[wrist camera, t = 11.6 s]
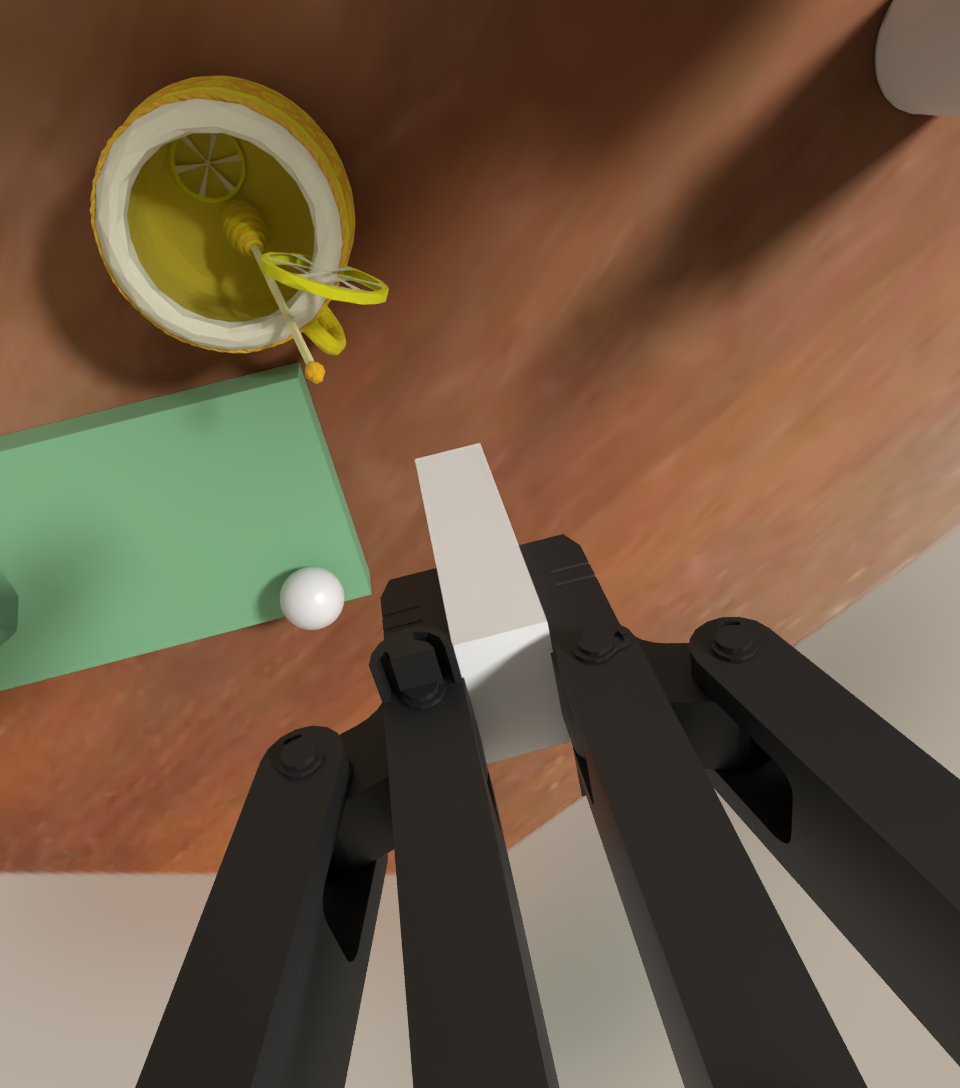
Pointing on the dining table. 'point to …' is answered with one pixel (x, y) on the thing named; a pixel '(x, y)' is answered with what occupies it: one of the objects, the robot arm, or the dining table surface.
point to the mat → (165, 523)
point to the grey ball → (312, 598)
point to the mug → (229, 219)
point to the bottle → (920, 56)
